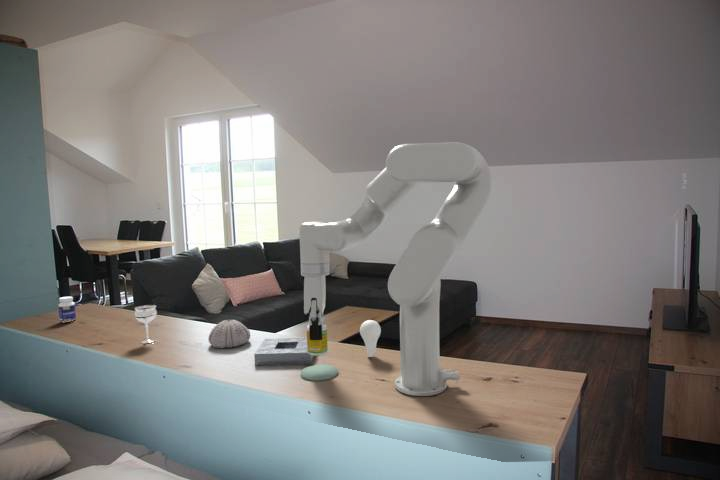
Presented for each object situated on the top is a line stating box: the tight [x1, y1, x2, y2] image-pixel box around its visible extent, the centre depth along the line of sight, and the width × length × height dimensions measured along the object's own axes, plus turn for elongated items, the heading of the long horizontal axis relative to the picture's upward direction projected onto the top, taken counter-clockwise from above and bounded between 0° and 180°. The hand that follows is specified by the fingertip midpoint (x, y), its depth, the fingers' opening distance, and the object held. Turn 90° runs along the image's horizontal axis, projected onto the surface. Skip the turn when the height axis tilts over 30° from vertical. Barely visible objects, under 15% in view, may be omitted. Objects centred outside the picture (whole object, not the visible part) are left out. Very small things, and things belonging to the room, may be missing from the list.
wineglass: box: [134, 304, 158, 343], centre depth 161 cm, size 7×7×12 cm
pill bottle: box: [58, 295, 77, 321], centre depth 192 cm, size 6×6×10 cm
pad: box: [300, 364, 339, 382], centre depth 129 cm, size 10×10×1 cm
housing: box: [253, 337, 315, 367], centre depth 143 cm, size 16×14×4 cm
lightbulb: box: [359, 319, 382, 358], centre depth 140 cm, size 6×6×11 cm
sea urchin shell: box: [207, 319, 251, 349], centre depth 157 cm, size 13×14×8 cm
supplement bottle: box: [306, 315, 328, 356], centre depth 128 cm, size 5×5×10 cm
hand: (317, 335), depth 128 cm, fingers closed on supplement bottle, 5 cm apart
